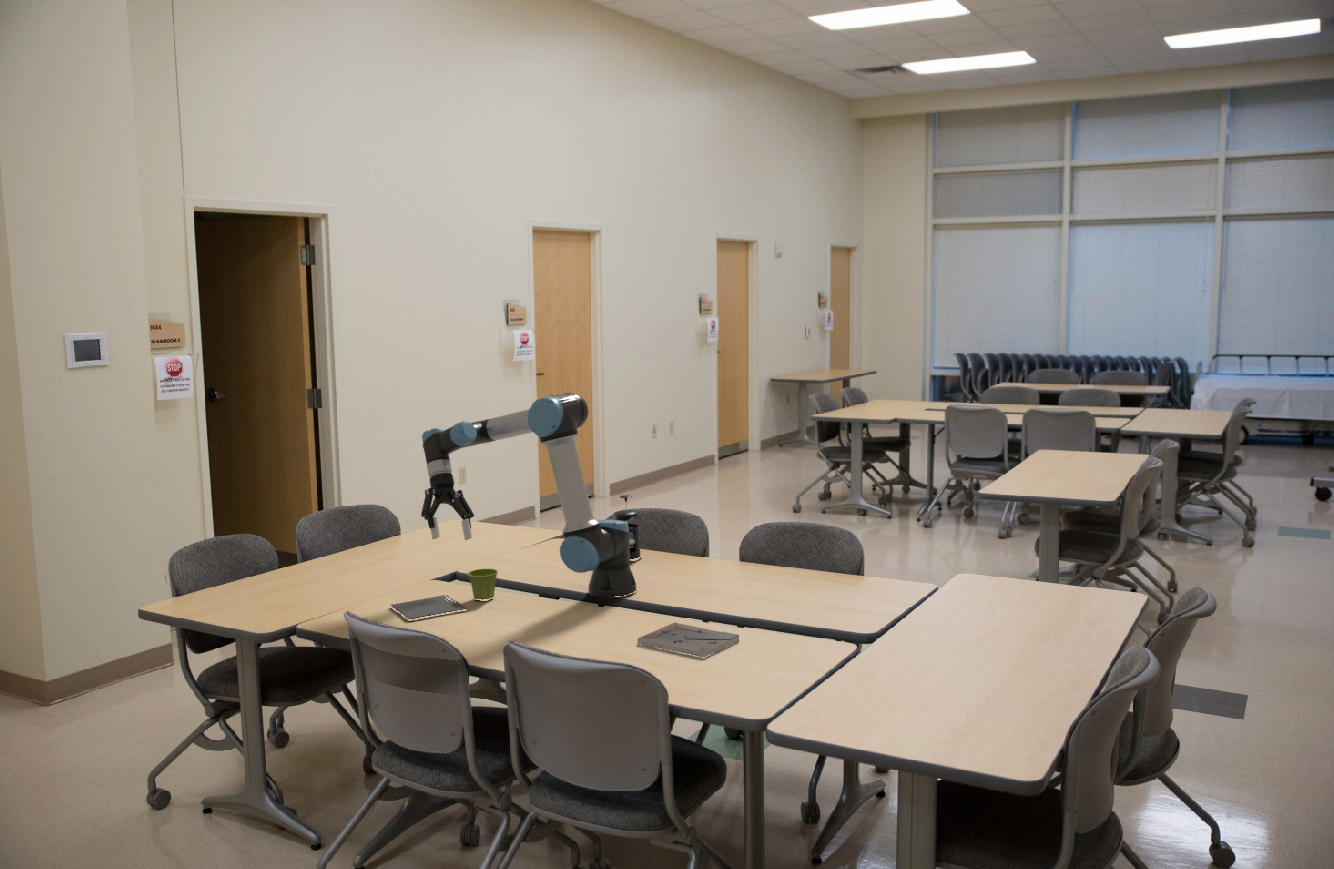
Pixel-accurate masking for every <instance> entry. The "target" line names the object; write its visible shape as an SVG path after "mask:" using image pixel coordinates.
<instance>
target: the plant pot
mask: <svg viewBox="0 0 1334 869" xmlns="http://www.w3.org/2000/svg"><path fill="white" fill-rule="evenodd" d="M466 574H467V576H468V578H469V580H470V585H471V590H472V595H473V599H474V598H475V599H482V600H483V599H489V598H492V597H494V598H495V591H496V590H495V589H496V588H495V587H496V579H497V576H498V574H499V571H498V570H497V569H495V568H477V569H472V570H470V571H468V572H467V573H466Z"/></svg>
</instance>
